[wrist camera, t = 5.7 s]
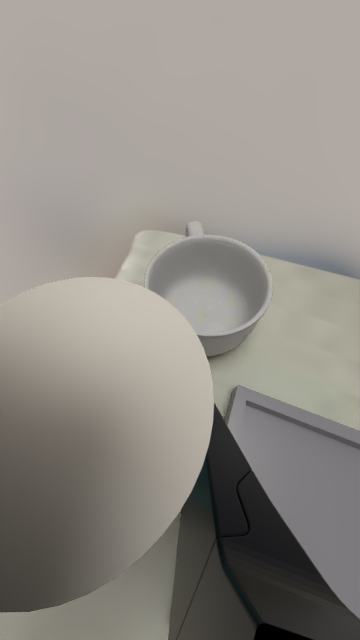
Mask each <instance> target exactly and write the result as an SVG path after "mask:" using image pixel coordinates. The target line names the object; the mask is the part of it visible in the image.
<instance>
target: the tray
mask: <svg viewBox="0 0 360 640" xmlns="http://www.w3.org/2000/svg"><path fill="white" fill-rule="evenodd" d="M225 423H226V424H227V426H228V428H229V430H230V431H231V433H232V435H233V437H234V438H235V440H236V442H237V444H238V445H239V447H240V449H241V451H242V452H243V454H244V456H245V458H246V459H247V461H248V463H249V465H250V466H251V468H252V471H253V472H254V473H255V475H256V477H257V479H258V480H259V482H260V484H261V485H262V487H263V489H264V490H265V492H266V494H267V495H268V497H269V499H270V500H271V502H272V503H273V505H274V506H275V508H276V509H277V511H278V512H279V514H280V515H281V517H282V518H283V520H284V521H285V523H286V524H287V526H288V527H289V529H290V530H291V532H292V533H293V534H294V536H295V537H296V539H297V540H298V542H299V543H300V545H301V546H302V548H303V549H304V550H305V552H306V553H307V555H308V556H309V558H310V559H311V561H312V562H313V564H314V565H315V566H316V568H317V569H318V571H319V572H320V574H321V575H322V577H323V578H324V579H325V581H326V582H327V584H328V585H329V586H330V588H331V589H332V590H333V591H334V593H335V594H336V595H337V596H338V598H339V599H340V600H341V601H342V602H343V603H344V604H345V605H346V606H347V608H348V609H349V610H350V611H351V612H353V613H354V614H355V615H356V616H357V617H358V618H359V619H360V431H358V430H355V429H353V428H350V427H347V426H345V425H342V424H339V423H337V422H334V421H332V420H329V419H326V418H324V417H321V416H318V415H316V414H313V413H311V412H308V411H305V410H303V409H300V408H297V407H295V406H292V405H290V404H287V403H284V402H282V401H279V400H276V399H274V398H271V397H269V396H266V395H263V394H261V393H258V392H255V391H253V390H250V389H247V388H245V387H242V386H240V385H238V386H237V387H236V388H235V389H234V390H233V392H232V396H231V400H230V403H229V407H228V411H227V415H226V418H225Z"/></svg>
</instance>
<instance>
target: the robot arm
mask: <svg viewBox="0 0 360 640" xmlns="http://www.w3.org/2000/svg"><path fill="white" fill-rule="evenodd" d="M168 640H360V619H359V618H358V617H357V616H356V615H355V614H354V613H353V612H351V611H350V610H349V609H348V608H347V606H346V605H345V604H344V603H343V602H342V601H341V600H340V599H339V598H338V596H337V595H336V594H335V593H334V591H333V590H332V589H331V588H330V586H329V585H328V584H327V582H326V581H325V579H324V578H323V577H322V575H321V574H320V572H319V571H318V569H317V568H316V566H315V565H314V564H313V562H312V561H311V559H310V558H309V556H308V555H307V553H306V552H305V550H304V549H303V548H302V546H301V545H300V543H299V542H298V540H297V539H296V537H295V536H294V534H293V533H292V532H291V530H290V529H289V527H288V526H287V524H286V523H285V521H284V520H283V518H282V517H281V515H280V514H279V512H278V511H277V509H276V508H275V506H274V505H273V503H272V502H271V500H270V499H269V497H268V495H267V494H266V492H265V490H264V489H263V487H262V485H261V484H260V482H259V480H258V479H257V477H256V475H255V473H254V472H253V471H252V468H251V466H250V465H249V463H248V461H247V459H246V458H245V456H244V454H243V452H242V451H241V449H240V447H239V445H238V444H237V442H236V440H235V438H234V437H233V435H232V433H231V431H230V430H229V428H228V426H227V424H226V423H225V421H224V419H223V417H222V415H221V414H220V412H219V410H218V408H217V407H216V405H215V403H214V413H213V425H212V431H211V437H210V442H209V446H208V450H207V453H206V456H205V460H204V463H203V466H202V469H201V471H200V473H199V476H198V478H197V480H196V483H195V485H194V487H193V489H192V492H191V493H190V495H189V497H188V498H187V500H186V502H185V503H184V505H183V507H182V509H181V517H180V527H179V537H178V547H177V557H176V567H175V577H174V587H173V597H172V607H171V618H170V628H169V638H168Z"/></svg>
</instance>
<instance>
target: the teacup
mask: <svg viewBox="0 0 360 640" xmlns="http://www.w3.org/2000/svg"><path fill="white" fill-rule="evenodd" d="M144 288H146V289H148V290H150V291H152V292H155V293H156V294H158V295H159V296H161V297H162V298H164V299H165V300H167V301H168V302H169V303H170V304H172V305H173V306H174V307H175V308H176V309H177V310H178V311H179V312H180V313H181V314H182V315H183V316H184V317H185V318H186V320H187V321H188V322H189V324H190V325H191V326H192V328H193V329H194V331H195V332H196V334H197V336H198V338H199V340H200V342H201V344H202V346H203V348H204V351H205V354H206V356H215V355H219V354H223V353H225V352H228V351H230V350H232V349H234V348H235V347H237V346H238V345H239V344H241V343H242V342H243V341H244V340H245V339H246V338H247V336H248V335H249V334H250V333H251V331H252V330H253V328H254V327H255V325H256V324H257V322H258V320H259V319H260V318H261V317H262V316H263V314H264V313H265V311H266V310H267V308H268V306H269V304H270V301H271V299H272V294H273V280H272V275H271V272H270V270H269V268H268V266H267V265H266V264H265V262H264V260H263V259H262V257H261V256H260V255H259V254H258V253H257V252H256V251H255V250H253V249H252V248H250V247H249V246H247V245H245V244H244V243H242V242H240V241H237V240H235V239H232V238H229V237H224V236H218V235H204V232H203V226H202V224H201V223H200V222H198V221H194V222H189V223H188V224H187V225H186V238H182V239H180V240H177V241H175V242H172V243H170V244H168V245H167V246H165V247H164V248H163V249H162V250H160V251H159V252H158V253H157V254H156V255H155V256H154V258H153V259H152V260H151V262H150V264H149V265H148V268H147V271H146V273H145V278H144Z"/></svg>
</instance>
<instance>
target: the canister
mask: <svg viewBox="0 0 360 640" xmlns="http://www.w3.org/2000/svg"><path fill="white" fill-rule="evenodd" d="M213 413H214V393H213V381H212V376H211V371H210V366H209V362H208V359H207V357H206V354H205V351H204V348H203V346H202V344H201V342H200V340H199V338H198V336H197V334H196V332H195V331H194V329H193V328H192V326H191V325H190V324H189V322H188V321H187V320H186V318H185V317H184V316H183V315H182V314H181V313H180V312H179V311H178V310H177V309H176V308H175V307H174V306H173V305H172V304H170V303H169V302H168V301H167V300H165V299H164V298H162V297H161V296H159V295H158V294H156V293H155V292H152V291H150V290H148V289H146V288H144V287H142V286H139V285H136V284H134V283H131V282H127V281H123V280H118V279H111V278H103V277H83V278H71V279H66V280H60V281H55V282H52V283H48V284H45V285H41V286H38V287H36V288H33V289H30V290H28V291H25V292H23V293H21V294H19V295H17V296H14V297H12V298H10V299H8V300H7V301H5V302H3V303H2V304H0V612H30V611H34V610H39V609H44V608H49V607H54V606H58V605H61V604H64V603H66V602H69V601H71V600H74V599H76V598H79V597H82V596H84V595H87V594H89V593H90V592H92V591H94V590H96V589H97V588H99V587H101V586H103V585H104V584H106V583H108V582H109V581H111V580H113V579H115V578H116V577H117V576H118V575H120V574H121V573H122V572H124V571H125V570H126V569H127V568H129V567H130V566H131V565H133V564H134V563H135V562H136V561H138V560H139V559H140V558H141V557H142V556H143V555H144V554H145V553H146V552H147V551H148V550H149V549H150V548H151V547H152V546H153V545H154V544H155V543H156V542H157V541H158V540H159V539H160V537H161V536H162V535H163V534H164V532H165V531H166V530H167V528H168V527H169V526H170V524H171V523H172V522H173V520H174V519H175V518H176V517H177V515H178V514H179V512H180V510H181V509H182V507H183V505H184V503H185V502H186V500H187V498H188V497H189V495H190V493H191V492H192V489H193V487H194V485H195V483H196V480H197V478H198V476H199V473H200V471H201V469H202V466H203V463H204V460H205V456H206V453H207V450H208V446H209V442H210V437H211V431H212V425H213Z"/></svg>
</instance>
